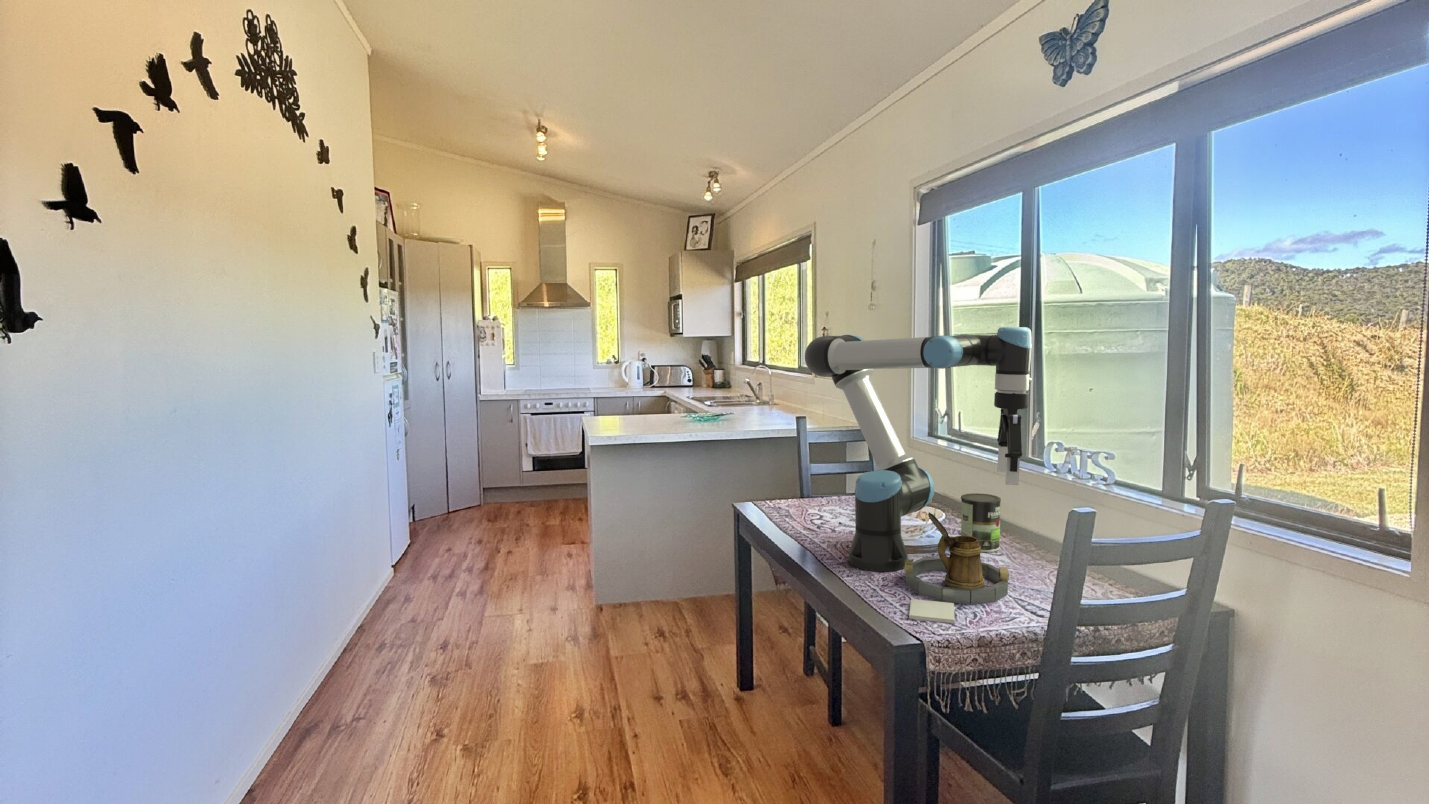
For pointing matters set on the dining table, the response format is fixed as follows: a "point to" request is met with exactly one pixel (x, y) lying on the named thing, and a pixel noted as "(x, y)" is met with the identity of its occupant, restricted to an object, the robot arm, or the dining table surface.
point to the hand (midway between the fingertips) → (1007, 478)
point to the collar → (956, 594)
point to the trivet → (932, 611)
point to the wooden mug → (960, 559)
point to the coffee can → (981, 519)
